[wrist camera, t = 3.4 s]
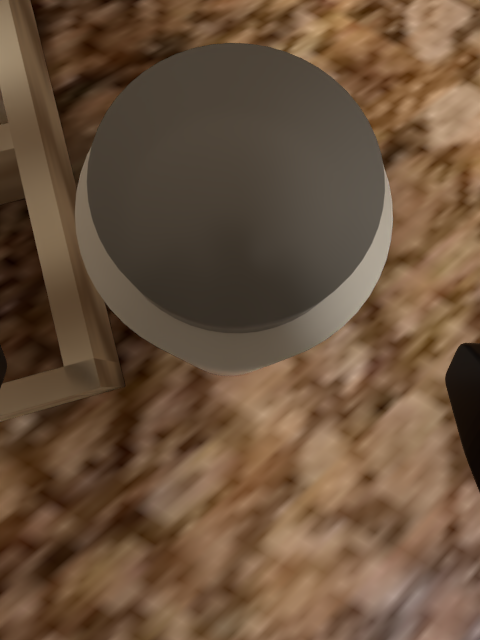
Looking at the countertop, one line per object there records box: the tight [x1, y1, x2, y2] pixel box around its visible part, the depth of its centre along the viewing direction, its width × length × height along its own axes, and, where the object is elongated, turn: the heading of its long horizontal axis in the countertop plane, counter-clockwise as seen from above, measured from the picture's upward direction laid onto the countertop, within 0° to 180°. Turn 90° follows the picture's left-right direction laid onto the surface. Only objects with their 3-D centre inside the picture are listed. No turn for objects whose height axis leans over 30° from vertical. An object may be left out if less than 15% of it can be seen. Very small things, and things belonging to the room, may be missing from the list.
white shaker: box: [75, 43, 393, 376], centre depth 12 cm, size 5×5×12 cm
